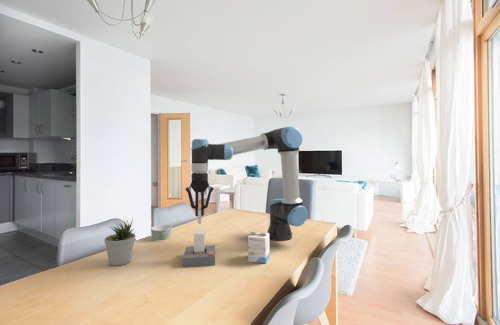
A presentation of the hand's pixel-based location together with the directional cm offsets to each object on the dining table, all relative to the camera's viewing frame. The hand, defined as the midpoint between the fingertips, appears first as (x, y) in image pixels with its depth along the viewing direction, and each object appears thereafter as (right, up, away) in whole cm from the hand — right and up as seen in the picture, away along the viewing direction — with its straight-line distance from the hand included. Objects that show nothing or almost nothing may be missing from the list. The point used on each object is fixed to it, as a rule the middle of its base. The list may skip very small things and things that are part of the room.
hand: (199, 223), depth 116 cm
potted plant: (-35, -18, -3) cm, 40 cm away
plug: (0, -16, 0) cm, 16 cm away
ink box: (+28, -18, +1) cm, 33 cm away
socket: (0, -17, 0) cm, 17 cm away
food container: (-29, -17, +31) cm, 46 cm away
